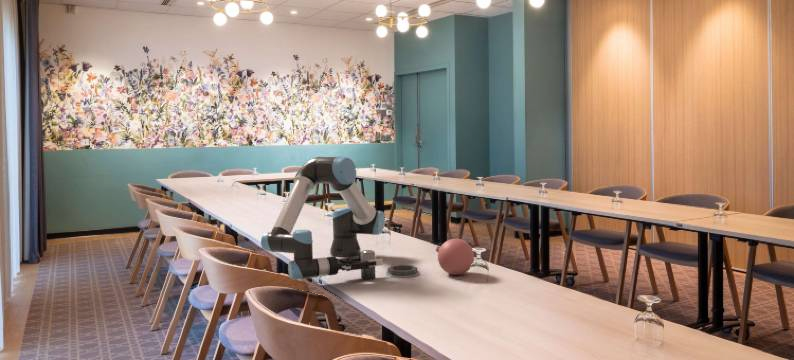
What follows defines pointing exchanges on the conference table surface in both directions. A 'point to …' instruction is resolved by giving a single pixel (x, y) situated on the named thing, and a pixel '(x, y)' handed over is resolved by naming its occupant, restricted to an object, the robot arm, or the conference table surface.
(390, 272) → the ring plate
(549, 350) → the conference table surface
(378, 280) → the conference table surface
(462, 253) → the terracotta rubber ball
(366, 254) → the cylinder
